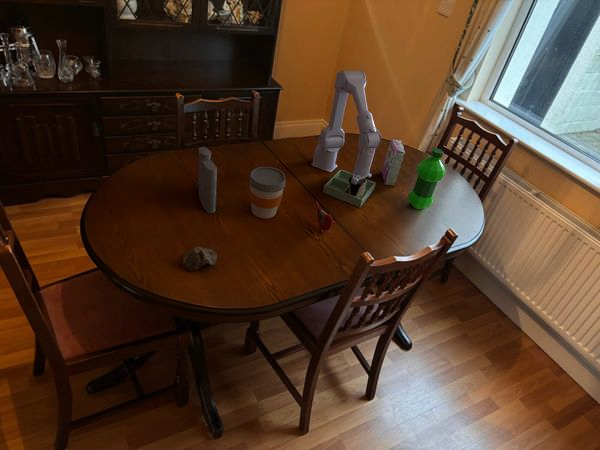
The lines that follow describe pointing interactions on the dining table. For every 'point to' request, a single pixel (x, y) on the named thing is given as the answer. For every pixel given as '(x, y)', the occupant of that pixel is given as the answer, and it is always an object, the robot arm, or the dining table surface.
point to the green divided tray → (346, 188)
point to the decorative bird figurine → (324, 219)
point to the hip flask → (207, 180)
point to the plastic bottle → (427, 180)
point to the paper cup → (361, 190)
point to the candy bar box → (393, 162)
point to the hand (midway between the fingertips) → (356, 191)
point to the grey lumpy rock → (199, 258)
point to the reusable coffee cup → (266, 191)
